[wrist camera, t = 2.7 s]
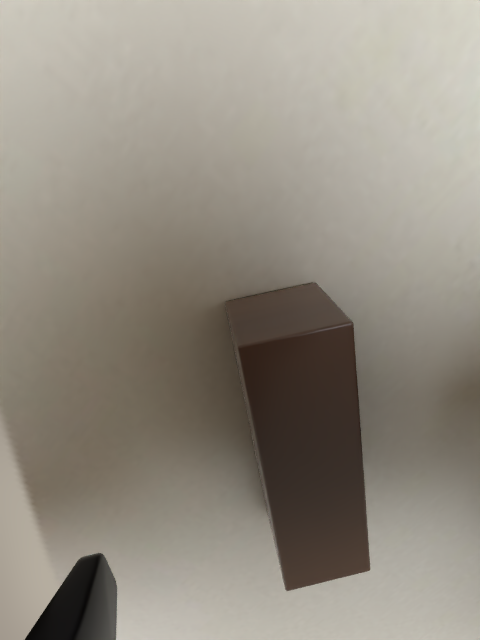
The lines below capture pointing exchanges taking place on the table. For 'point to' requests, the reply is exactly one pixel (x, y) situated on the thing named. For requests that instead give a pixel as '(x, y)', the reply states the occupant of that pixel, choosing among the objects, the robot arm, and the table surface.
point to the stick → (305, 429)
